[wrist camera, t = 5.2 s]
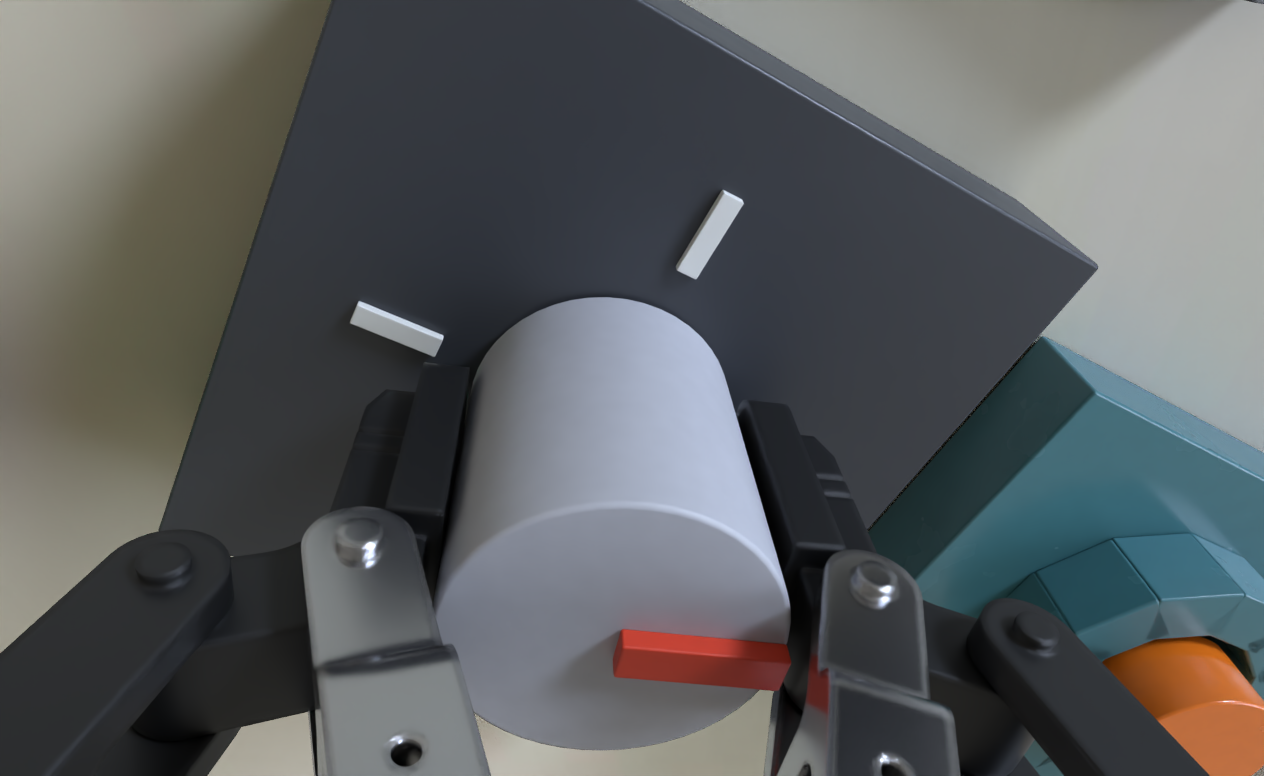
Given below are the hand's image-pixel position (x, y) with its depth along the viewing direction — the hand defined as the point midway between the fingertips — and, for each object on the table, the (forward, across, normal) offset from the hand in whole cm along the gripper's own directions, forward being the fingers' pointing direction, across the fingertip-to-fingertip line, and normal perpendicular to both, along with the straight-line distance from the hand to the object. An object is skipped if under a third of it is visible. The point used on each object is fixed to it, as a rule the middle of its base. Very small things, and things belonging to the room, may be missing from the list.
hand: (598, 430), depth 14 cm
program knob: (+1, 0, 0) cm, 1 cm away
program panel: (+4, 0, 0) cm, 4 cm away
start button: (0, -13, +5) cm, 14 cm away
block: (+4, -13, +5) cm, 15 cm away
